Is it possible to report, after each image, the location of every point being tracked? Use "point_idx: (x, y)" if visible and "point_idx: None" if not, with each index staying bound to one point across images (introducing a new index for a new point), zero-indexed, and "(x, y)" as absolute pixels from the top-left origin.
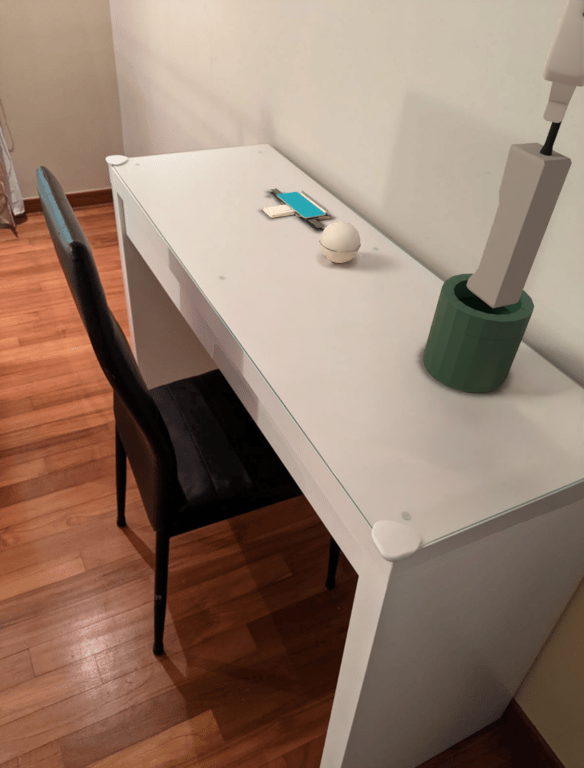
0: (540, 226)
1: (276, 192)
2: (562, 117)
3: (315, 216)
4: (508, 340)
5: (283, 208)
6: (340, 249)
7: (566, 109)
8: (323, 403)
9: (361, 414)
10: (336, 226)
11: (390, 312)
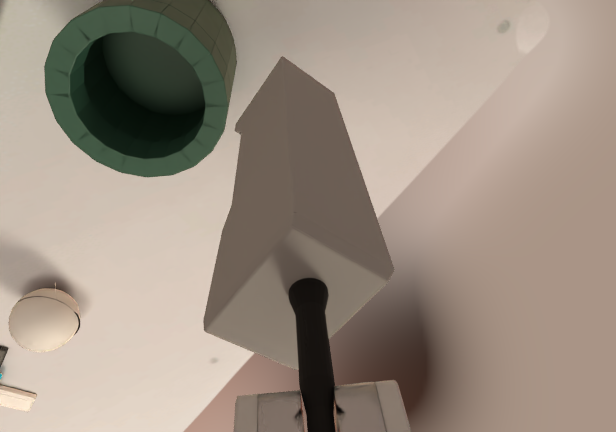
0: (309, 134)
1: None
2: (398, 394)
3: None
4: (193, 19)
5: (4, 398)
6: (69, 311)
7: (407, 421)
8: (364, 180)
9: (360, 137)
10: (47, 344)
11: (120, 193)
